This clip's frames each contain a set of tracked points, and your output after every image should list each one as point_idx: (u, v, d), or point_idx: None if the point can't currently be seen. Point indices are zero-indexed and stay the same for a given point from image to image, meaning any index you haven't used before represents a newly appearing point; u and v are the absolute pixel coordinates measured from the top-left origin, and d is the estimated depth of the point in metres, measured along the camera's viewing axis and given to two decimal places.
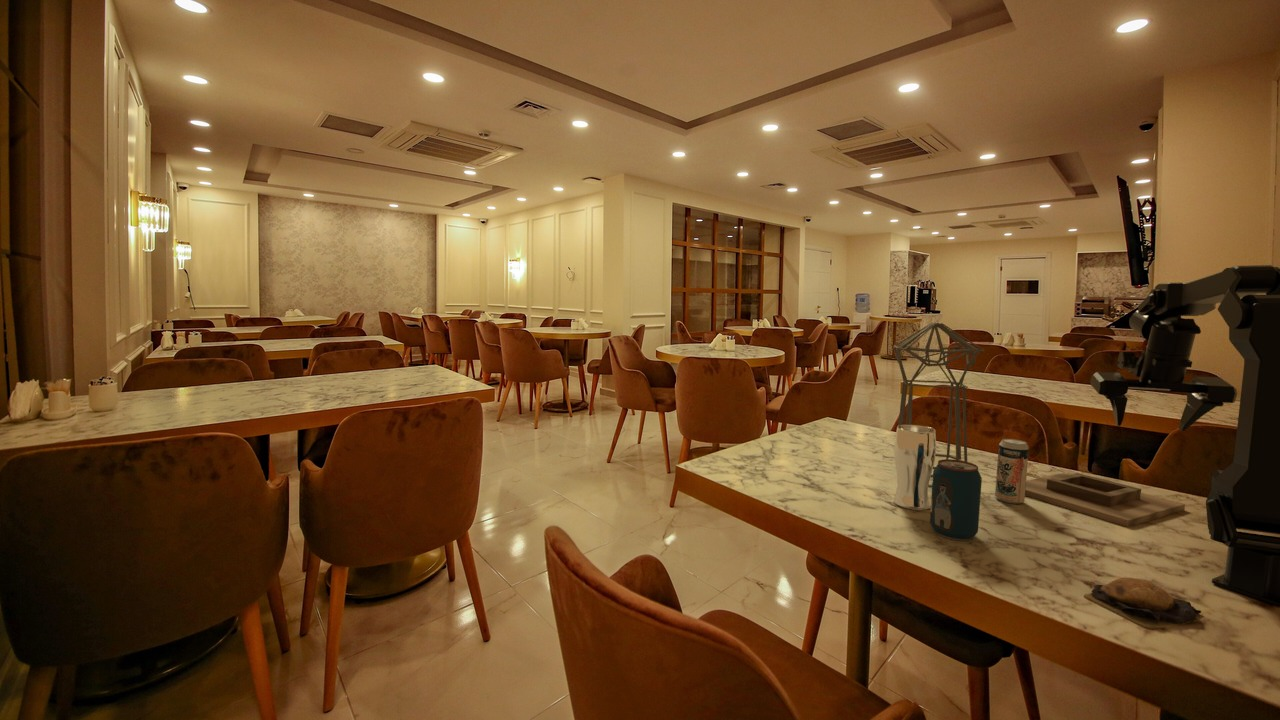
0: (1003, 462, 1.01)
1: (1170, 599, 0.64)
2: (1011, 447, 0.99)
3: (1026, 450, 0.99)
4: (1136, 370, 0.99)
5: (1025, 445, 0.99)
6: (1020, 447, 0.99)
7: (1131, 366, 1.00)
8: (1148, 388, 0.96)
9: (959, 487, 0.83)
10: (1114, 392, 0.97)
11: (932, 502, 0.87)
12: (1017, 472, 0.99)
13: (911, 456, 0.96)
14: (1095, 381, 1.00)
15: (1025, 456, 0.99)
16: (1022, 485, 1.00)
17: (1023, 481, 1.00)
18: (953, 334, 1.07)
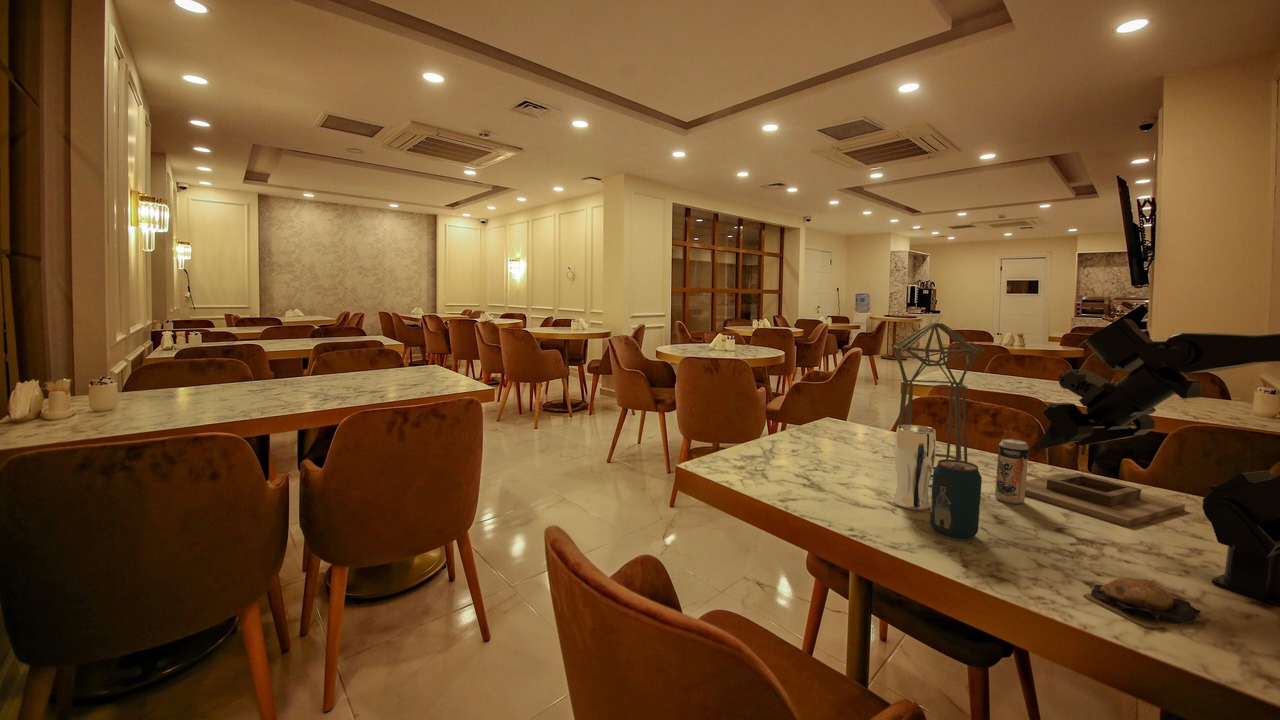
0: (1003, 462, 1.01)
1: (1170, 599, 0.64)
2: (1011, 447, 0.99)
3: (1026, 450, 0.99)
4: (1087, 400, 0.86)
5: (1025, 445, 0.99)
6: (1020, 447, 0.99)
7: (1078, 390, 0.87)
8: (1098, 426, 0.85)
9: (959, 487, 0.83)
10: (1078, 437, 0.84)
11: (932, 502, 0.87)
12: (1017, 472, 0.99)
13: (911, 456, 0.96)
14: (1058, 418, 0.85)
15: (1025, 456, 0.99)
16: (1022, 485, 1.00)
17: (1023, 481, 1.00)
18: (953, 334, 1.07)
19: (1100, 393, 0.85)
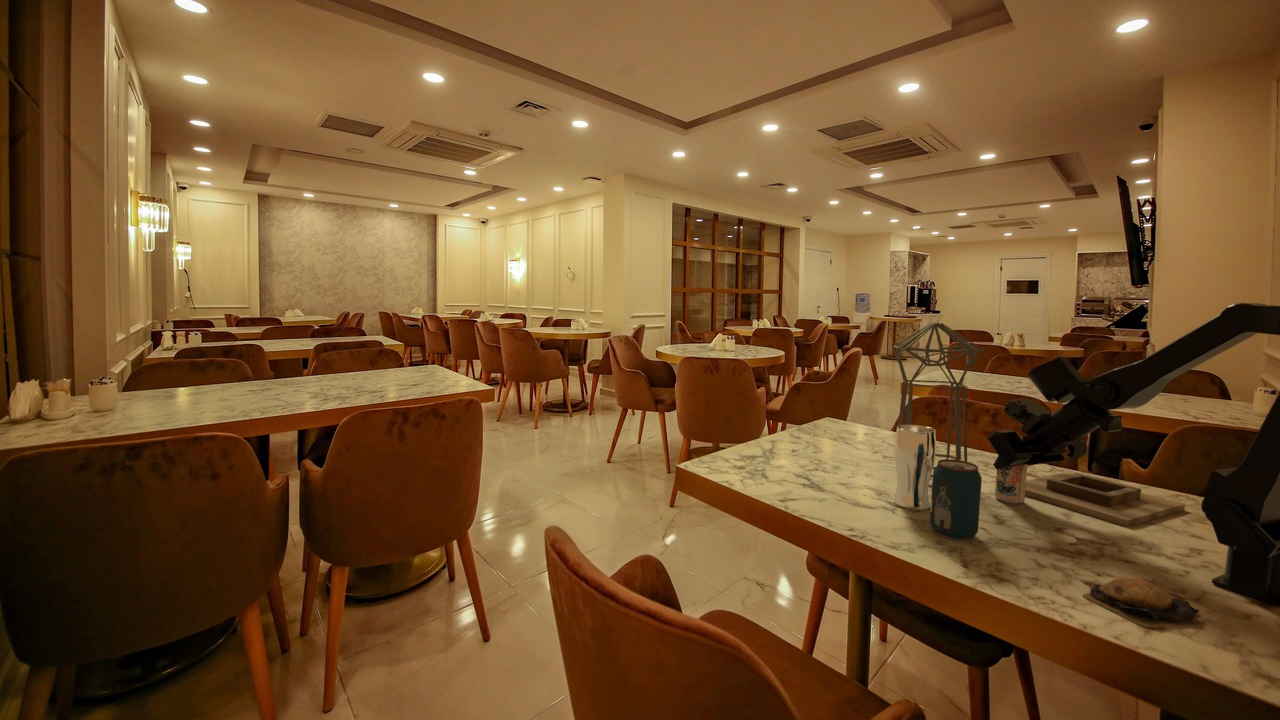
0: None
1: (1168, 598, 0.64)
2: None
3: None
4: (1027, 428, 0.96)
5: None
6: None
7: (1020, 419, 0.97)
8: (1036, 452, 0.95)
9: (959, 487, 0.83)
10: (1017, 463, 0.93)
11: (932, 502, 0.87)
12: (1017, 472, 0.99)
13: (911, 456, 0.96)
14: (1000, 444, 0.94)
15: None
16: (1022, 485, 1.00)
17: (1023, 481, 1.00)
18: (953, 334, 1.07)
19: (1038, 422, 0.94)
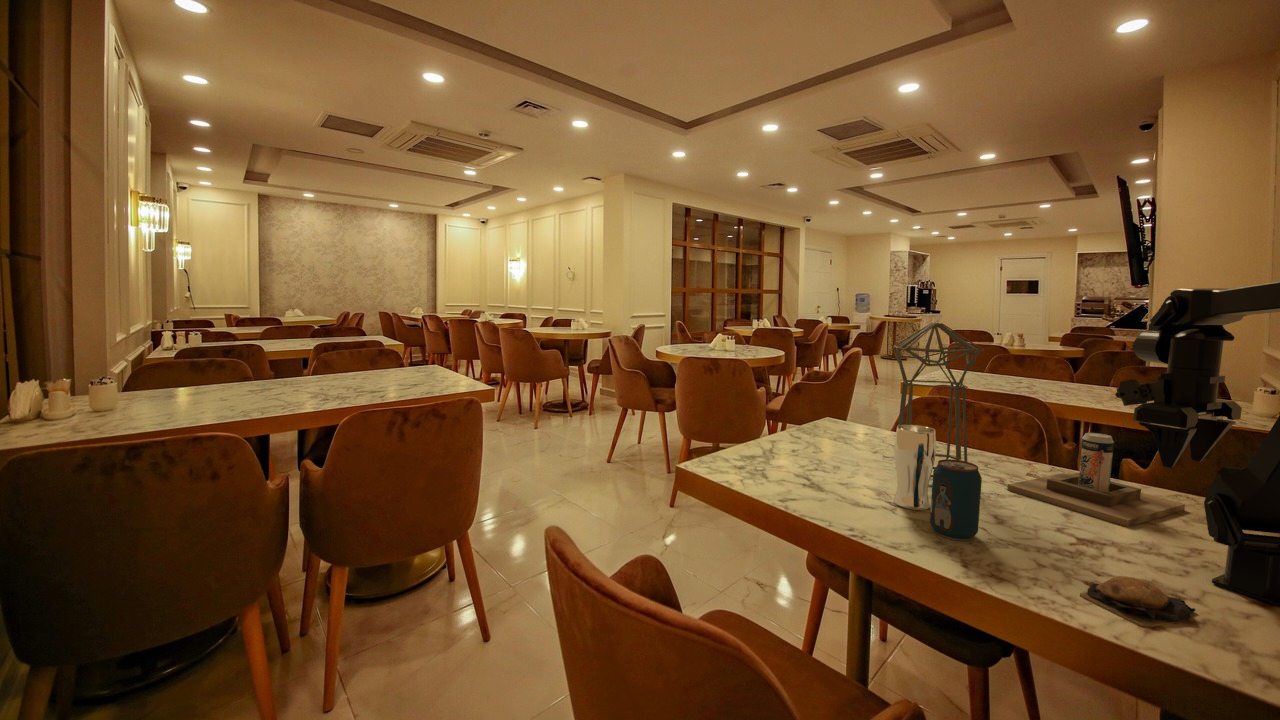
0: (1082, 454, 1.03)
1: (1165, 597, 0.64)
2: (1089, 439, 1.01)
3: (1107, 444, 0.99)
4: (1161, 397, 0.83)
5: (1107, 439, 1.00)
6: (1099, 440, 1.00)
7: (1144, 395, 0.85)
8: None
9: (959, 487, 0.83)
10: (1192, 422, 0.77)
11: (932, 502, 0.87)
12: (1095, 464, 1.00)
13: (911, 456, 0.96)
14: (1155, 413, 0.79)
15: (1105, 450, 1.00)
16: (1102, 478, 1.00)
17: (1103, 475, 1.00)
18: (953, 334, 1.07)
19: (1164, 385, 0.83)
